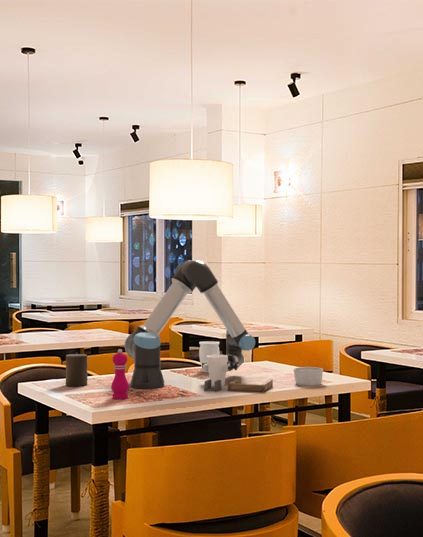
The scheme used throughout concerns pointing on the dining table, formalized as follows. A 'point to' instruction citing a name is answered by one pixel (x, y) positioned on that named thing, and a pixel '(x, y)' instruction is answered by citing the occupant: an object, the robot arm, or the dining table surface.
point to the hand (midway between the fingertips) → (214, 368)
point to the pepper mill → (120, 377)
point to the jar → (208, 350)
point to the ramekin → (308, 376)
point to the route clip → (209, 388)
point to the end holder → (249, 386)
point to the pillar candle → (76, 370)
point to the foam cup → (217, 368)
